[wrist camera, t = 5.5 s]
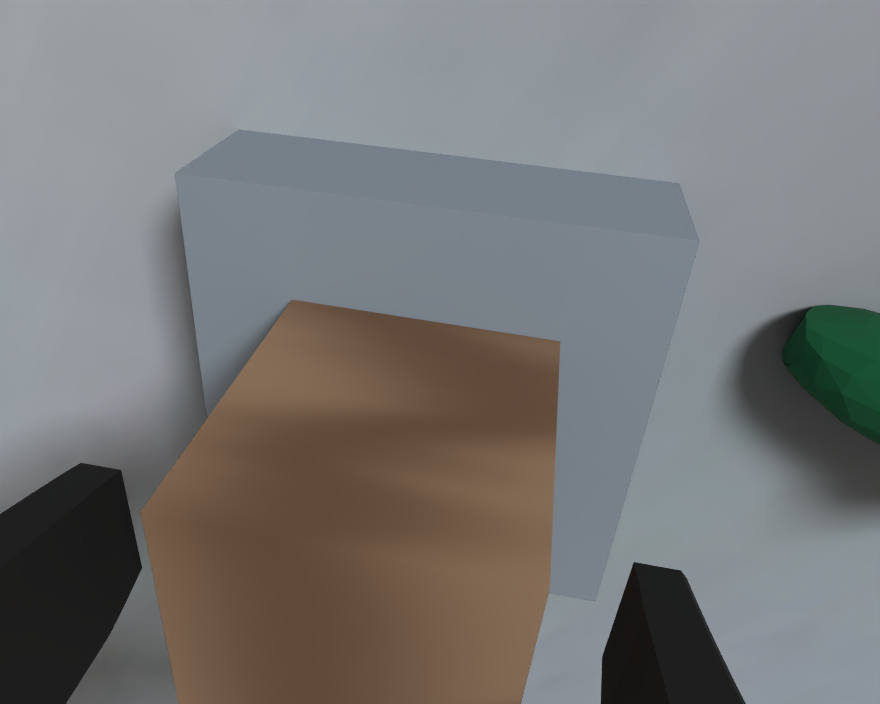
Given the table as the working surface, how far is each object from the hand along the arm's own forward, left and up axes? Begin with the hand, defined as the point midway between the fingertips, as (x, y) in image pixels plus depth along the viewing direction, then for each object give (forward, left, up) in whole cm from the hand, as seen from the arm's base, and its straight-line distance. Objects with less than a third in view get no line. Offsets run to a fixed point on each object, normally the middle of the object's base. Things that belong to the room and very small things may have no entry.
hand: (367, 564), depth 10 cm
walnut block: (0, 0, -3) cm, 3 cm away
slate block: (0, 0, -6) cm, 6 cm away
